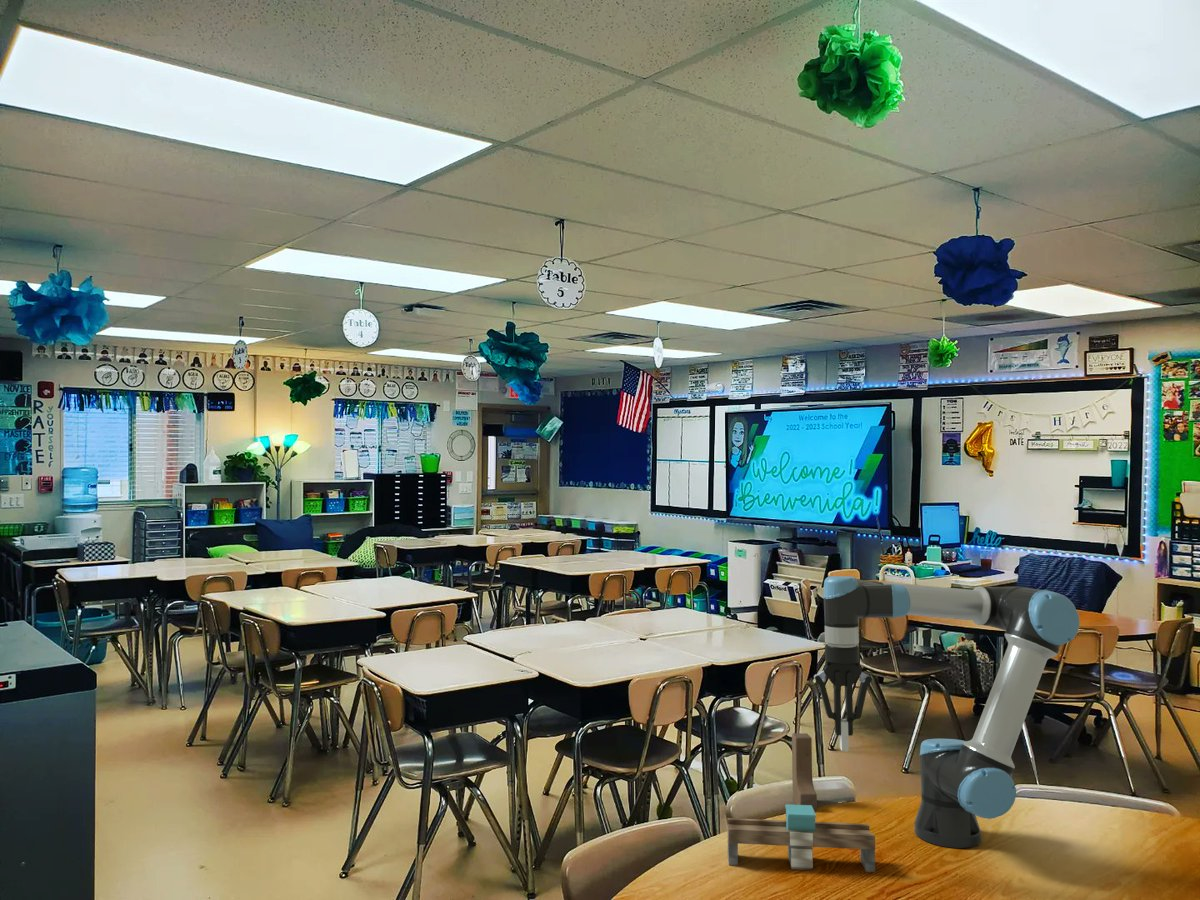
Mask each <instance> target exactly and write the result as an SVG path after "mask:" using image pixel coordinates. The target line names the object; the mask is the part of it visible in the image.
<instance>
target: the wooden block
mask: <svg viewBox="0 0 1200 900" xmlns="http://www.w3.org/2000/svg"><path fill="white" fill-rule="evenodd" d="M812 740H813V738H812V737H811V735H809V734H808V733H807V732H806V733H805V732H804V733H803V732H802V733H795V732H794V733H792V734H791V752H792V753H791V760H792V761H791V764H792V765H791V766H792V767H791V768H792V769H791V771H792V774H791V775H792V778H791V779H792V783H791V784H792V800H793V802H794V803H795V805H812V807H813V810H815V811H814V812H817V811H818V805H817V804H818V800H817V799H818V798H817V797H818V795H817V793H816V790H815V787H814V782H813V781H814V780H813V749H812V748H813V747H812V743H813V742H812Z"/></svg>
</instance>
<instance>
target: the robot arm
mask: <svg viewBox="0 0 1200 900" xmlns="http://www.w3.org/2000/svg"><path fill="white" fill-rule="evenodd" d="M822 597H823V611H824V642H825V643H826V645H825V646H824V657H825V658H824V666H823V668H822V670H821V671H820V672H819V673H815V674H814V675H813V678H814V680H815V681H816V683H817V684H818V687H819V692H820V696H821V699H822V703H823V704H822V705H823V707H824V711H825V714H826V716H827V717H828V719H832V720H833V721H834V733H835V735H836V736H839V749H840V750H841V752H847V753H848V752H850V751H849V749H850V748H849V746H850V745H849V744H850V743H849V736H851V737H852V736H853V735H854V726H853V725H854V723H853V722H854V721H855V720H860V719H861V718H862V715H863V709H864V705H865V701H866V696H867V693H868V692H867V691H868V687H870V684H871V683H872V681H873V679H872V677H871V676H870V675H869V674H866V673H864V672H863V671H862V667H861V664H860V647H859V646H858V644H859V643H860V638H859V637H860V636H859V634H860V633H859V619H865V618H866V619H868V618H870V619H871V618H879V619H880V618H884V619H886V618H890V619H894V618H903V617H906V616H918V617H919V616H920V617H930V618H940V619H953V620H964V621H972V622H973V623H974V624H975V625H977V626H985V627H991V628H996V629H999V630H1002V631H1005V632H1004V637H1005V639H1006V641H1007V647H1006V649H1005V652H1004V655H1003V658H1002V661H1001V663H1000V666H999V668H998V671H997V673H996V677H995V679H994V682H993V684H992V687H991V689H990V691H989V695H988V698H987V700H986V702H985V705H984V707H983V710H982V712H981V715H980V718H979V721H978V724H977V726H976V729H975V731H974V733H973V737H972V738H971V739H970V740H967V741H966V740H962V739H955V738H931V739H930V738H929V739H925V740H923V741H921V743H920V750H919V751H920V752H919V757H920V758H919V759H920V763H919V764H920V792H921V800H920V804H919V807H918V811H917V814H916V817H915V819H914V834H915V836H916V837H918V838H919V839H921V840H923V841H925V842H927V843H930V844H932V845H937V846H940V847H945V848H946V847H947V848H953V849H954V848H956V849H966V848H973V847H977V846H979V845H980V844H981V843H982V831H981V830H982V829H981V828H980V825H979V822H978V821H979V820H978V818H983V819H987V820H988V819H989V820H990V819H996V818H998V817H1001V816H1003V815H1005V814H1006V813H1008V812H1009V811H1010V810H1011V808H1012V807H1013V805H1014V804H1015V801H1016V799H1017V788H1016V786H1015V782H1014V780H1013V778H1012V777H1013V774H1014V771H1015V768H1016V767H1015V763H1014V762H1013V759H1012V754H1013V752H1014V749H1015V746H1016V743H1017V741H1018V739H1019V737H1020V736H1019V735H1020V734H1021V731H1022V728H1023V725H1024V723H1025V720H1026V718H1027V715H1028V712H1029V709H1030V707H1031V704H1032V701H1033V699H1034V696H1035V694H1036V691H1037V688H1038V686H1039V682H1040V681H1041V677H1042V675H1043V672H1044V669H1045V667H1046V664H1047V661H1048V660H1049V659H1051V658H1055V657H1057V656H1058V653H1059V652H1060V651H1059V650H1060V648H1061V646H1062V645H1065V644H1067V643H1069V642H1071V641H1073V640H1074V638H1076V636H1077V635H1078V632H1079V629H1080V622H1081V621H1080V616H1079V615H1080V614H1079V612H1078V611H1077V609H1076V606H1075V604H1074V603H1073V602H1072V600H1070V599H1069V597H1067V596H1066V595H1063V594H1061V593H1059V592H1058V593H1057V592H1055V591H1051V590H1050V589H1038V588H1030V587H1024V586H975V587H974V588H973V589H969V588H968V589H967V588H956V587H945V586H934V585H931V586H930V585H921V584H909V583H900V582H899V583H896V582H886V581H873V580H864V579H863V580H862V579H860V578H856V577H854V576H845V575H843V576H842V575H834V576H833V575H831V576H828V577H826V578H825V579H824V582H823V595H822ZM826 677H827V679H828V680H829V681H830V682H831V684H832V688H833V709H832V706H831V703H830V698H829V695H828V692H827V686H826V684H825V682H826V680H827V679H826ZM858 679H859V681H860V683H859V688H858V691H857V696H856V702H855V706H854V707H853V701H854V700H853V688H854V687H853V686H854V685H855V683H856V682H857V680H858ZM842 687H844V700H845V701H844V702H845V703H844V704H845V705H844V706H845V718H842ZM977 817H978V818H977Z"/></svg>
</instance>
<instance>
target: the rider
mask: <svg viewBox="0 0 1200 900" xmlns="http://www.w3.org/2000/svg"><path fill="white" fill-rule="evenodd" d="M784 805H785V820H786V828H787V830H793V831H815V822H816V819H817V815H816V813H815V812H816V811H814V810H813V807H812V805H796V804H787V803H786V804H784Z"/></svg>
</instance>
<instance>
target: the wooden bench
mask: <svg viewBox="0 0 1200 900" xmlns="http://www.w3.org/2000/svg"><path fill="white" fill-rule="evenodd" d="M726 823H727V859H728V865H729V866H736V867H737V866H739V856H738V855H739V850H738V849H739V844H740V845H741V844H743V845H760V846H761V845H764V846H785V847H787V856H788V857H787V858H788V861H789V864H790V869H791V870H804V871H805V870H806V871H812V869H814V867H813V865H814V863H813V861H814V860H813V859H814V858H813V857H814V855H813V848H827V849H829V848H830V849H831V848H833V849H848V850H849V849H850V850H851V849H853V850H860V851H859V852H860V862H861V864H862V867H863V869H864V871H865V872H867V873H868V872H869V873H876V835H875V833H872V832H871V830H870V824H869V823H853V822H830V821H829V822H827V821H815V831H793V830H787V828H786V819H785V820H784V819H783V820H782V819H760V818H759V819H756V818H739V817H737V818H736V817H735V818H734V817H732V818H731V817H727V822H726Z"/></svg>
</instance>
